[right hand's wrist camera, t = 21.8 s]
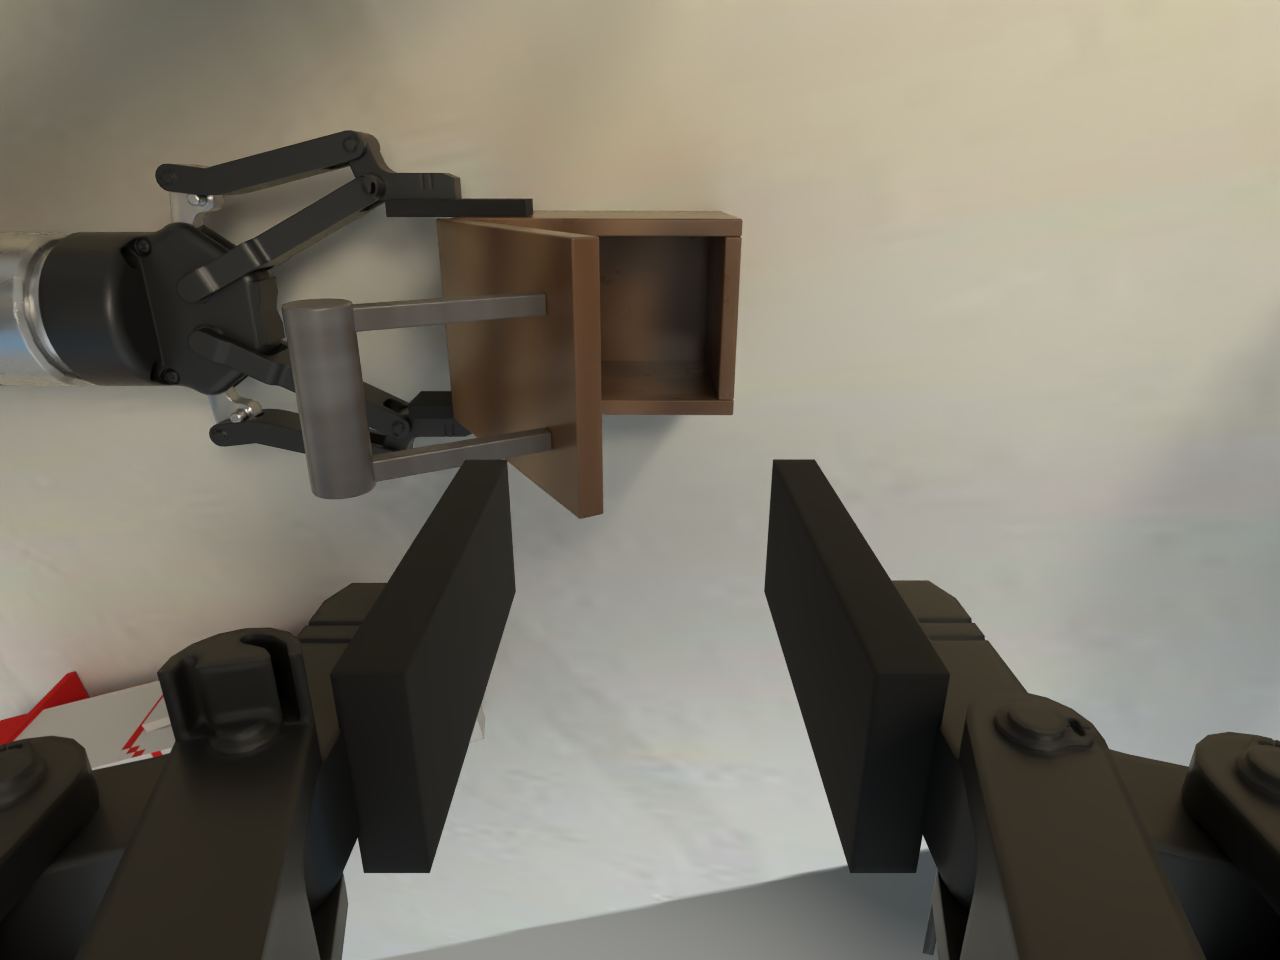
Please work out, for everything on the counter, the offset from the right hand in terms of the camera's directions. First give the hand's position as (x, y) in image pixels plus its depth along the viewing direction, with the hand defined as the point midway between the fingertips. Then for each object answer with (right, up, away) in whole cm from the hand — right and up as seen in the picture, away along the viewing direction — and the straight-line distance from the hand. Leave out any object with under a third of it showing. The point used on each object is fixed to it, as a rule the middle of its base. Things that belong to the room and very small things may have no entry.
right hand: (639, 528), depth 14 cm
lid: (-5, +6, +16) cm, 18 cm away
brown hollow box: (-2, +12, +30) cm, 33 cm away
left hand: (-5, +10, +25) cm, 27 cm away
